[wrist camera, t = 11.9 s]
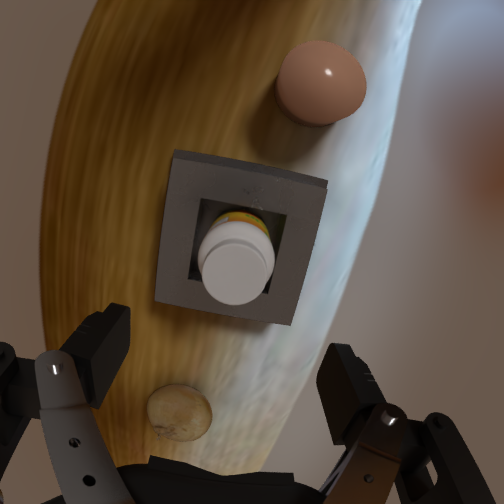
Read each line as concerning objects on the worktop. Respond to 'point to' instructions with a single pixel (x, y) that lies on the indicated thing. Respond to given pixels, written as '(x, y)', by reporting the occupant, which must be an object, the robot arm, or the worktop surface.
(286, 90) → the brown egg
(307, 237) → the collar socket
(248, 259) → the supplement bottle
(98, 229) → the worktop surface
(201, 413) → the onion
